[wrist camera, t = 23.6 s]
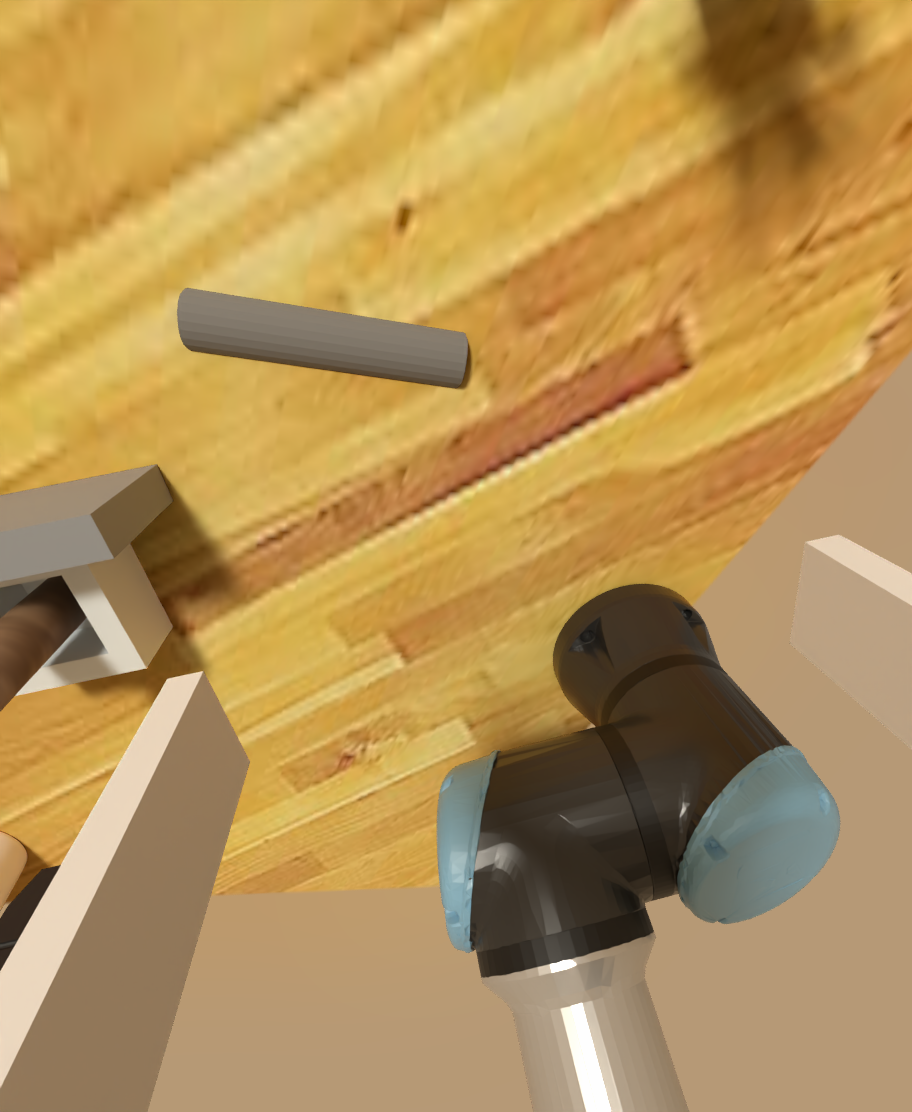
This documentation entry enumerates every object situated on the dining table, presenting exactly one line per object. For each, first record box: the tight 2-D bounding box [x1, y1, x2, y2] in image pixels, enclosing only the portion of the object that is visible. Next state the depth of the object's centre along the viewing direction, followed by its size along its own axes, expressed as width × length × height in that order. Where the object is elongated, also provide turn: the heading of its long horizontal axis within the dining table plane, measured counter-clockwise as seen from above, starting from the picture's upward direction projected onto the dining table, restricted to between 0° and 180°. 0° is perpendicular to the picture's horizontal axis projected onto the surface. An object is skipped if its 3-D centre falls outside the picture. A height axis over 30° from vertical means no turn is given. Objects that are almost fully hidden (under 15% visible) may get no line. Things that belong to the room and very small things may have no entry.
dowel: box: [0, 575, 87, 711], centre depth 36 cm, size 4×4×14 cm
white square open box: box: [0, 544, 173, 696], centre depth 41 cm, size 11×11×6 cm
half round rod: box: [177, 288, 468, 388], centre depth 37 cm, size 4×20×2 cm, turn 81°
